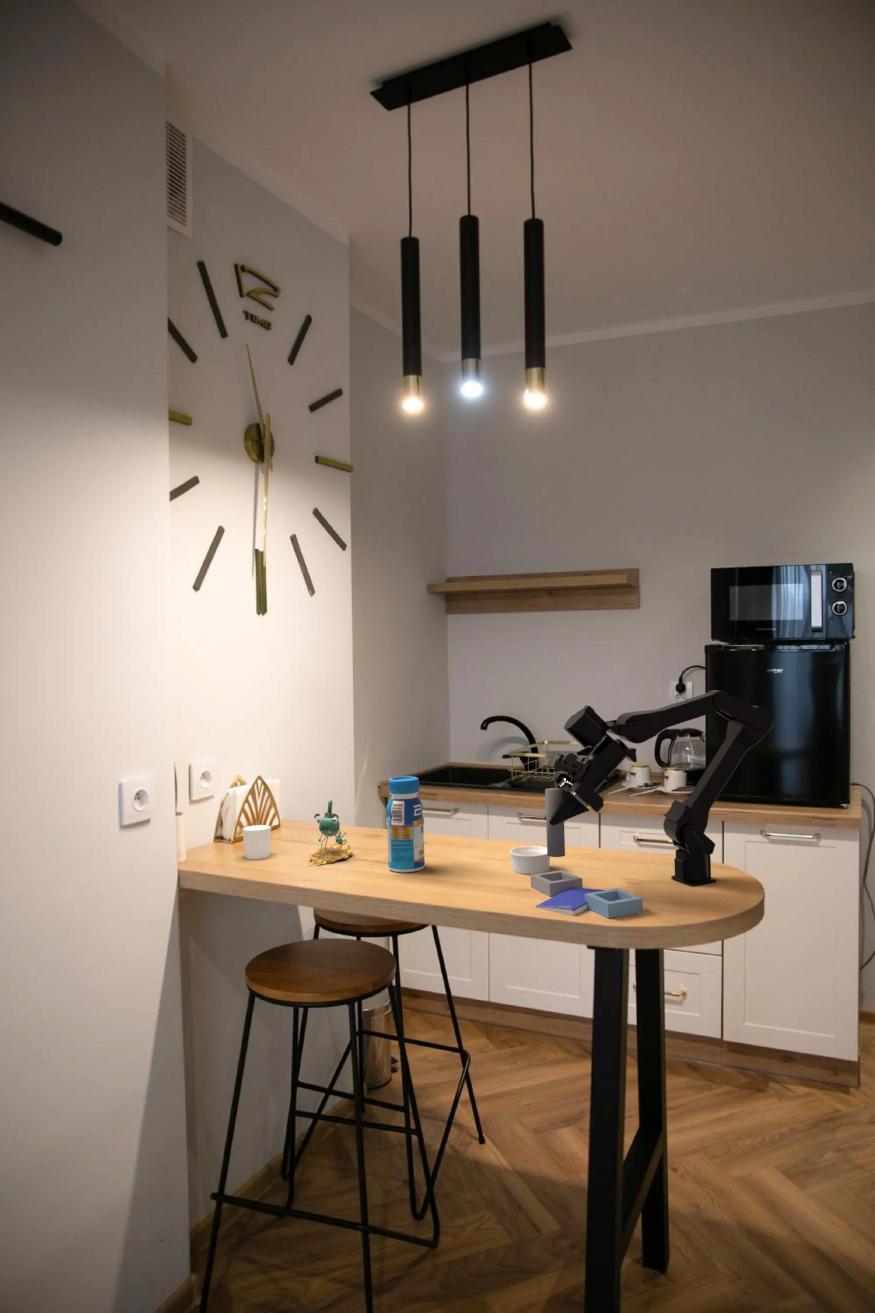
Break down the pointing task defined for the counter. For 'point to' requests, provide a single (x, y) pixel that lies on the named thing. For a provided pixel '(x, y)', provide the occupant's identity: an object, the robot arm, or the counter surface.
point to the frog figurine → (328, 828)
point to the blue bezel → (614, 903)
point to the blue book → (568, 901)
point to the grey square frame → (555, 882)
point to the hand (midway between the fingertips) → (548, 822)
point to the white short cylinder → (257, 841)
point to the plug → (557, 831)
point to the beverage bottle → (405, 825)
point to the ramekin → (530, 860)
